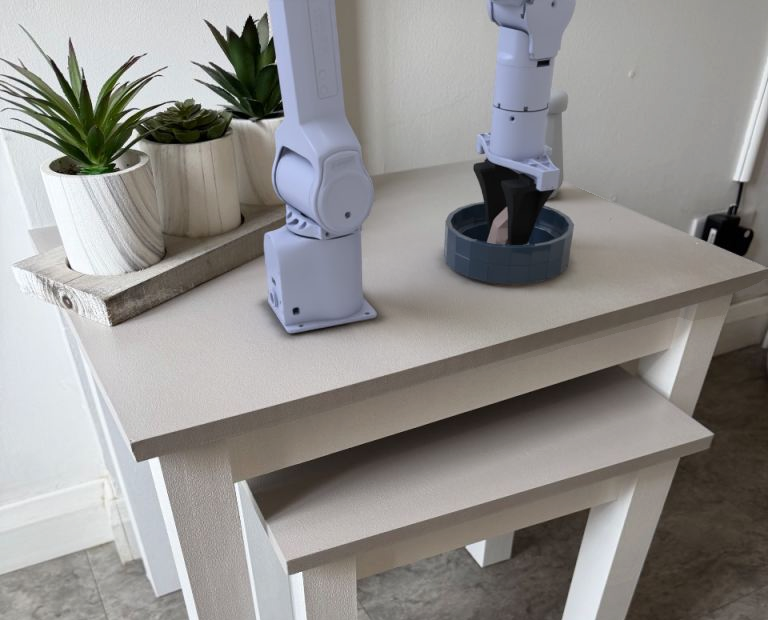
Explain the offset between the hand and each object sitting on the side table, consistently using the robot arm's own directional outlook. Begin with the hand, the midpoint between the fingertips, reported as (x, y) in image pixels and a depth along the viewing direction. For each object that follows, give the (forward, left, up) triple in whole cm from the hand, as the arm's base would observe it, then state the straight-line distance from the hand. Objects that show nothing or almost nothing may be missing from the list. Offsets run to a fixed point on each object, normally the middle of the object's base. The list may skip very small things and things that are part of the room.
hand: (507, 236), depth 89 cm
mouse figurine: (0, +1, -2) cm, 3 cm away
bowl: (0, 0, -3) cm, 3 cm away
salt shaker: (+15, +18, -3) cm, 24 cm away
